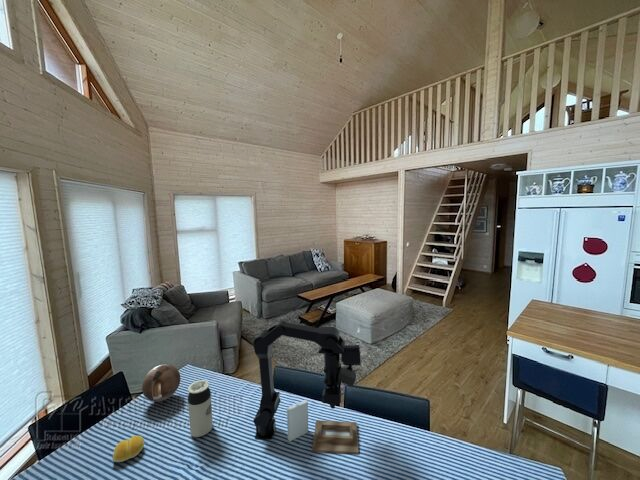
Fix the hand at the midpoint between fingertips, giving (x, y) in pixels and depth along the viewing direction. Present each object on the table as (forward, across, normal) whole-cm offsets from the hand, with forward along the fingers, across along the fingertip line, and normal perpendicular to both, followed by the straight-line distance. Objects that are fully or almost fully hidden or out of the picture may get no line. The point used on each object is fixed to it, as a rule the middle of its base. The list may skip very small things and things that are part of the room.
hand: (333, 403), depth 96 cm
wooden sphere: (+12, +16, +80) cm, 82 cm away
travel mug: (+13, 0, +52) cm, 53 cm away
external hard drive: (+13, 0, +14) cm, 19 cm away
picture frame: (+13, 0, 0) cm, 13 cm away
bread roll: (+13, -8, +72) cm, 73 cm away
